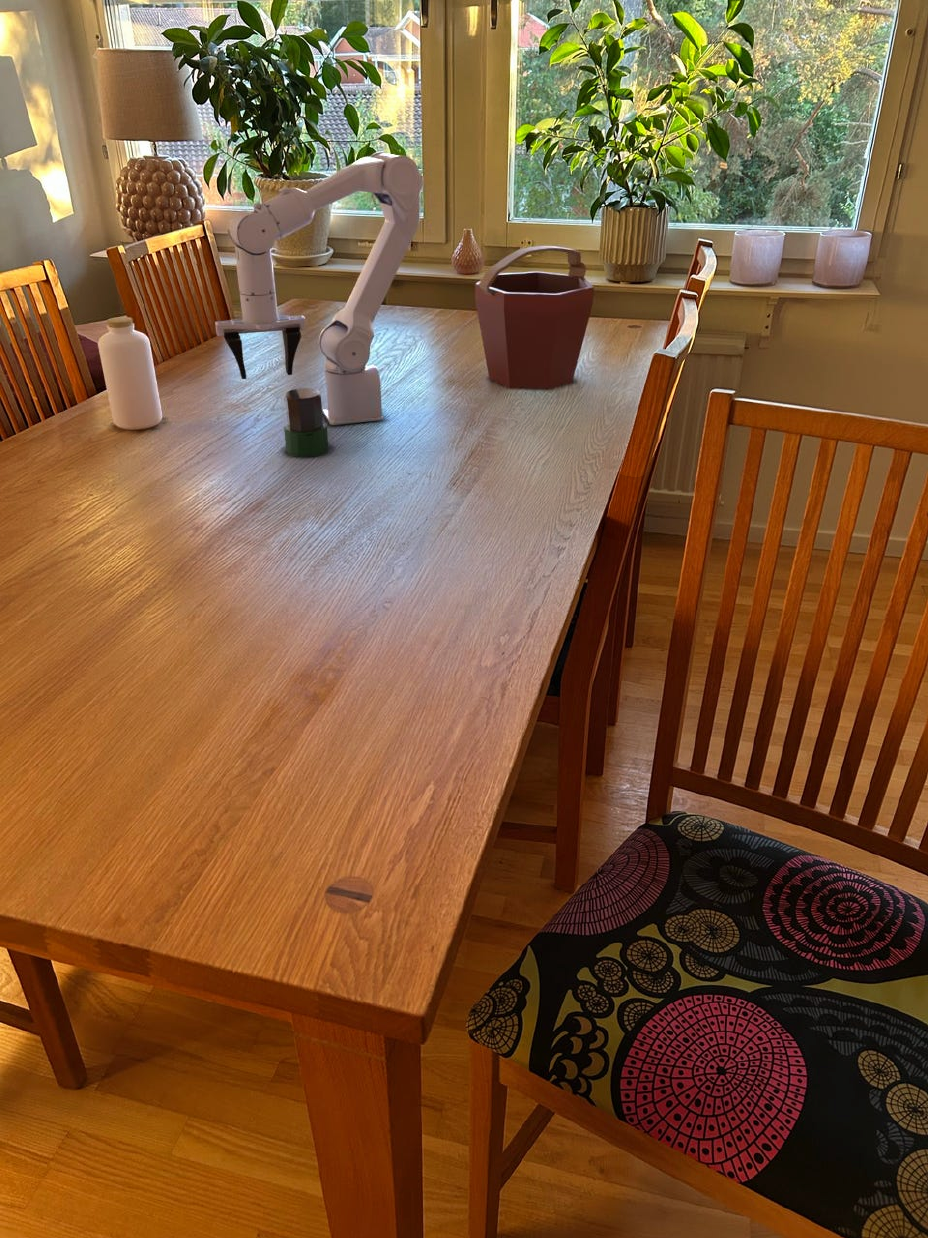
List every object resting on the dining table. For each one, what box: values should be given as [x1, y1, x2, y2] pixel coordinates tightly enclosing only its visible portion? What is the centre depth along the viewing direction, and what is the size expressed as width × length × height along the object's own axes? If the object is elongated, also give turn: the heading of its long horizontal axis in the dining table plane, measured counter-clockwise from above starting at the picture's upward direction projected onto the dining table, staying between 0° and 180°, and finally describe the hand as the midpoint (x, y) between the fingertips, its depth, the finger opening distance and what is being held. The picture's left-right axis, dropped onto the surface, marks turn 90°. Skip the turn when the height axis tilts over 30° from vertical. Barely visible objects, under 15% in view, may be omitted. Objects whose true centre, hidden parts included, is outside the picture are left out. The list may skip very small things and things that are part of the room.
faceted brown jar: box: [284, 387, 324, 432], centre depth 149 cm, size 5×5×6 cm
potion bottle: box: [97, 316, 163, 431], centre depth 159 cm, size 8×8×18 cm
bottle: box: [283, 421, 329, 458], centre depth 151 cm, size 7×7×6 cm
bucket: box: [474, 245, 595, 391], centre depth 182 cm, size 24×22×25 cm
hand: (266, 375), depth 157 cm, fingers open, 7 cm apart
